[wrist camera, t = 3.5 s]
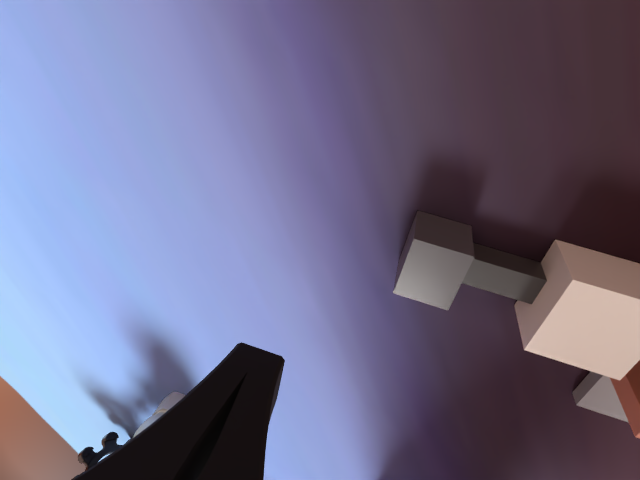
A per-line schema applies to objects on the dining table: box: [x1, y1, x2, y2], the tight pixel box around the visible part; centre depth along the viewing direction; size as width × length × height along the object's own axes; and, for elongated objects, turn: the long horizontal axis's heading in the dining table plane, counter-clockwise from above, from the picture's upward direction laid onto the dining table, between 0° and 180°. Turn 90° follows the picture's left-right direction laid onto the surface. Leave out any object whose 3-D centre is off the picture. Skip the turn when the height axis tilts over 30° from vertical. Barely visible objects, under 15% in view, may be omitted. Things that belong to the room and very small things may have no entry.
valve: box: [71, 391, 186, 480], centre depth 32 cm, size 7×7×12 cm
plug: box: [393, 210, 640, 380], centre depth 18 cm, size 10×4×3 cm, turn 79°
